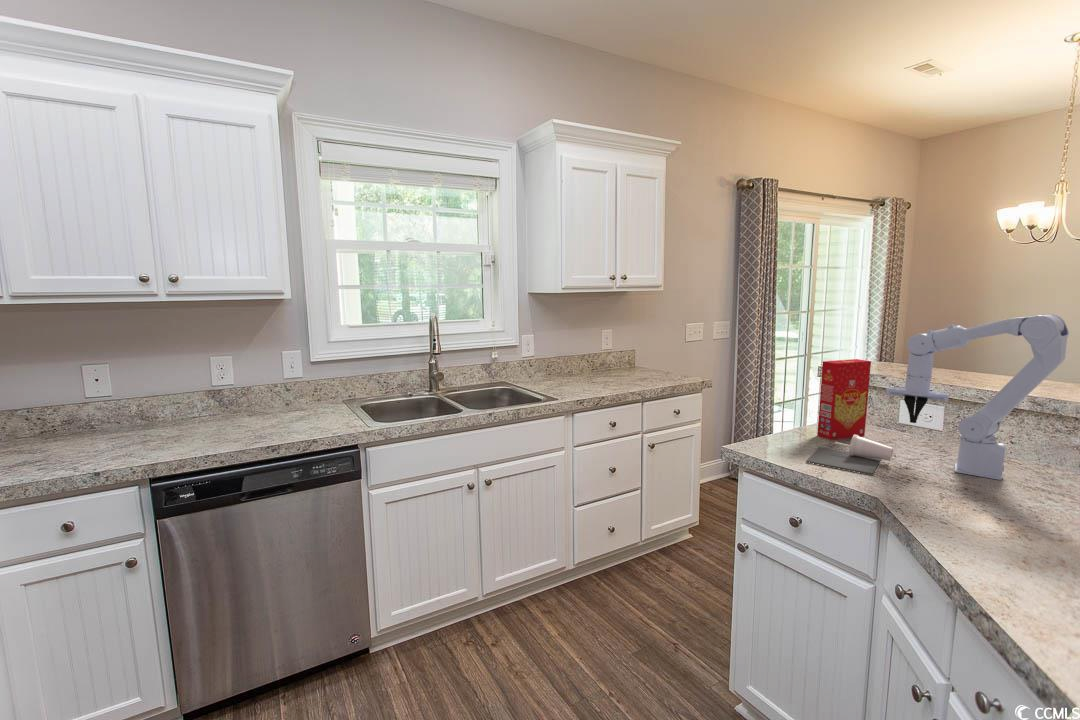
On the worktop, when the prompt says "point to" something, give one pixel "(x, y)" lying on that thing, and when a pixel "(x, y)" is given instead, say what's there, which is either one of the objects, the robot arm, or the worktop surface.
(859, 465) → the mat
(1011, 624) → the worktop surface
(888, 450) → the smoothie
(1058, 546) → the worktop surface
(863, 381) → the food packaging
